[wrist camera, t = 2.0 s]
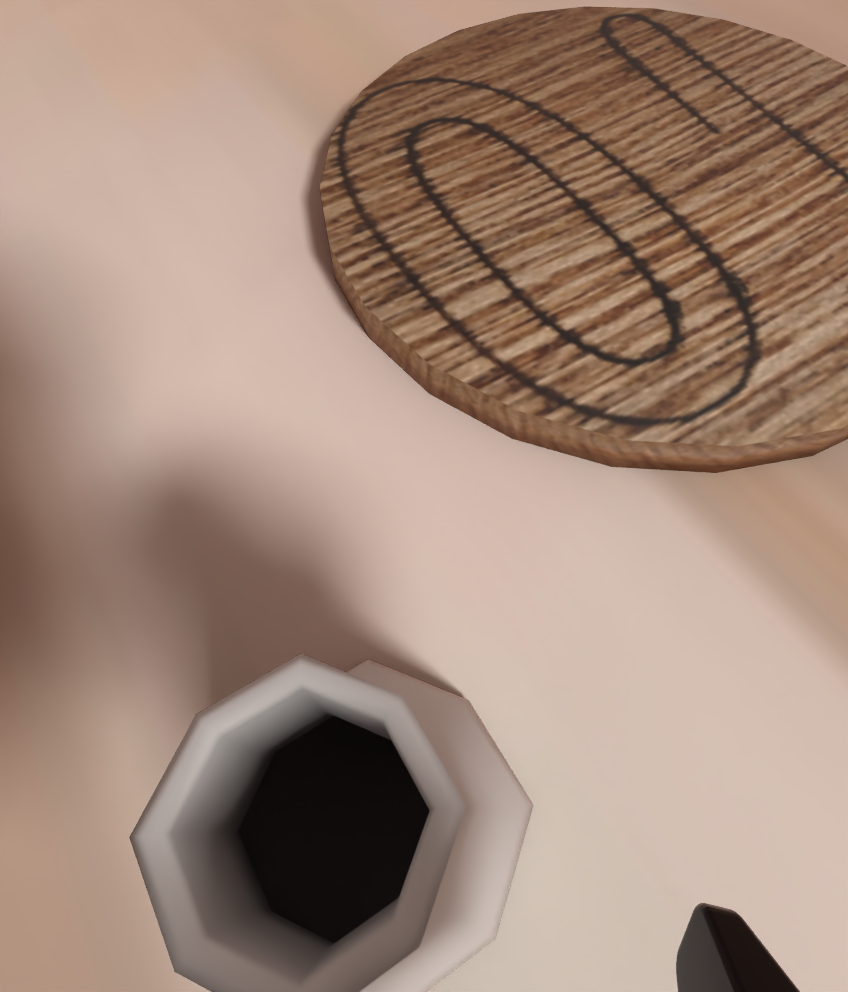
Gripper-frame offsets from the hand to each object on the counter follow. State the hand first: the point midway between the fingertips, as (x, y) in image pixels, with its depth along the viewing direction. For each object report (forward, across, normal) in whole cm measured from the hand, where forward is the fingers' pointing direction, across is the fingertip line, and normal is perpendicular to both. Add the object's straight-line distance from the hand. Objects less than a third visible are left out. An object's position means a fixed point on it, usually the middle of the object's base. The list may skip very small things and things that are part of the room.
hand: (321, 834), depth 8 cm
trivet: (+23, -5, -10) cm, 26 cm away
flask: (+6, 0, +6) cm, 8 cm away
